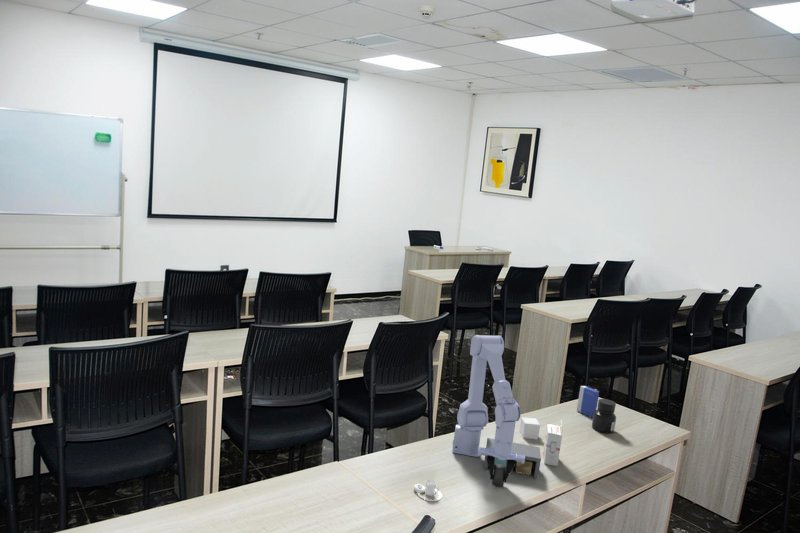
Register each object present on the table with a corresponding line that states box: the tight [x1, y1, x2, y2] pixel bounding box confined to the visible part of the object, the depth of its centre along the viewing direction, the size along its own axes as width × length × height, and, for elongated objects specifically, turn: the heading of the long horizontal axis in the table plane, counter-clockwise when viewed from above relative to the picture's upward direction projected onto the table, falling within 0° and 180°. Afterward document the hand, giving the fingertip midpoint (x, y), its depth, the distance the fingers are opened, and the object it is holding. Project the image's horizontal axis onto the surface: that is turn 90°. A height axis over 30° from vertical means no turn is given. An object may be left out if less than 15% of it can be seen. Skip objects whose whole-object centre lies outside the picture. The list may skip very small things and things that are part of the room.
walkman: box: [576, 385, 600, 418], centre depth 258 cm, size 8×3×12 cm, turn 39°
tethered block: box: [491, 458, 507, 488], centre depth 193 cm, size 5×16×6 cm, turn 169°
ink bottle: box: [591, 398, 617, 434], centre depth 242 cm, size 10×9×12 cm
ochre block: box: [514, 459, 533, 475], centre depth 199 cm, size 5×5×4 cm
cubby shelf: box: [483, 437, 542, 480], centre depth 199 cm, size 18×9×7 cm, turn 79°
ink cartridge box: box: [542, 419, 563, 467], centre depth 208 cm, size 9×5×15 cm, turn 168°
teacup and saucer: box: [413, 479, 443, 502], centre depth 177 cm, size 9×8×4 cm
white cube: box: [519, 416, 541, 440], centre depth 229 cm, size 6×6×6 cm
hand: (498, 479), depth 187 cm, fingers closed on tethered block, 4 cm apart
